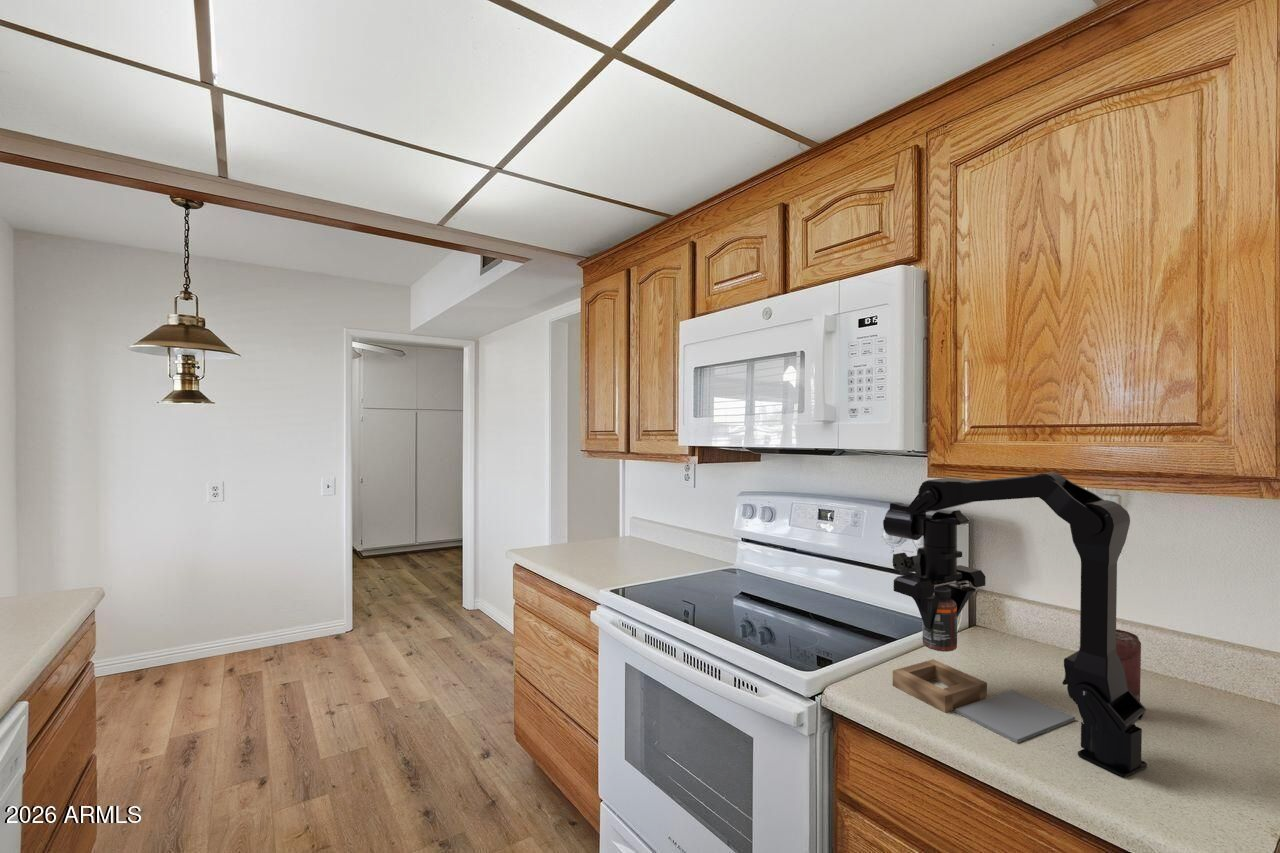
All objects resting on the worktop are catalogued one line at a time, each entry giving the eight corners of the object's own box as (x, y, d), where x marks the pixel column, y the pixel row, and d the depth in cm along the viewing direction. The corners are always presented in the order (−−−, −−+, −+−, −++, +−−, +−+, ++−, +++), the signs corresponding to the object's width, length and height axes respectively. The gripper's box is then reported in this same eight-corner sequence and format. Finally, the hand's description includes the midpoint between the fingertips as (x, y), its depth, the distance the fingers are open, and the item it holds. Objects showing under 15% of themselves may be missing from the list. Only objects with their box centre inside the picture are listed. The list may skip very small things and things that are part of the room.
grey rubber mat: (1075, 720, 103) (1075, 716, 103) (1016, 743, 96) (1016, 739, 96) (1012, 692, 113) (1012, 689, 113) (955, 712, 106) (955, 708, 106)
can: (1091, 710, 107) (1092, 633, 106) (1100, 699, 111) (1102, 624, 110) (1134, 724, 102) (1136, 643, 101) (1143, 711, 106) (1144, 634, 106)
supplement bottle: (949, 641, 116) (949, 583, 116) (962, 653, 110) (963, 593, 110) (917, 640, 117) (917, 583, 117) (929, 652, 111) (929, 592, 111)
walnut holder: (986, 698, 111) (987, 682, 111) (944, 712, 106) (945, 695, 106) (933, 673, 122) (933, 659, 122) (892, 685, 117) (892, 670, 117)
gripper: (936, 532, 124) (936, 606, 125) (870, 541, 116) (870, 620, 117) (987, 542, 114) (987, 623, 115) (919, 553, 106) (919, 640, 107)
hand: (939, 625), depth 113 cm, fingers closed on supplement bottle, 6 cm apart
